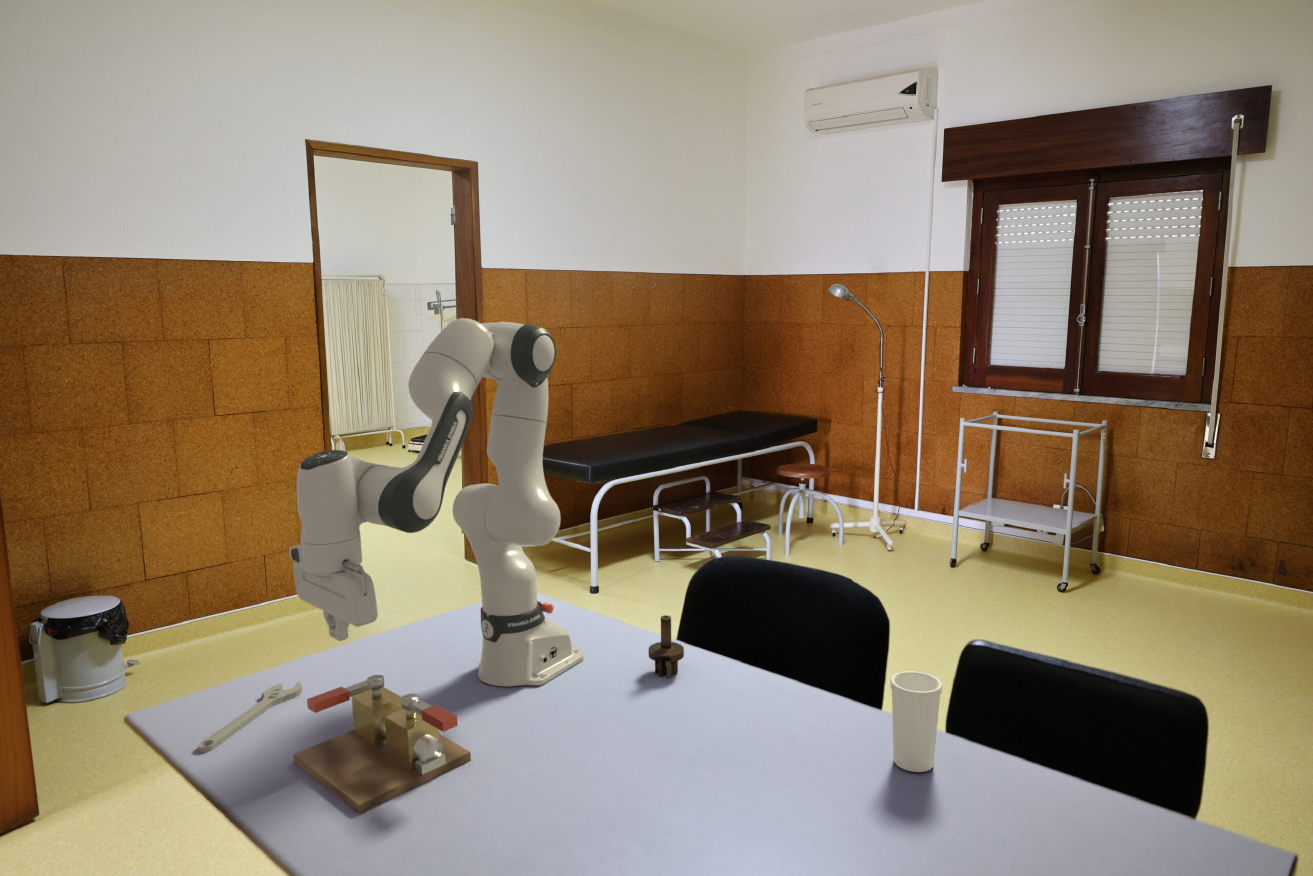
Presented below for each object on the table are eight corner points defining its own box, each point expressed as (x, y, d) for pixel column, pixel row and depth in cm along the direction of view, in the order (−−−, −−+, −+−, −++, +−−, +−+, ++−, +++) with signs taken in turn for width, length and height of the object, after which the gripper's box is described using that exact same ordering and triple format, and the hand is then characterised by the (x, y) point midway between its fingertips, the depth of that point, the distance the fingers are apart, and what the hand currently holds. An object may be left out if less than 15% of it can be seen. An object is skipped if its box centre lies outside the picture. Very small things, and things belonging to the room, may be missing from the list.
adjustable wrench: (208, 756, 147) (207, 747, 147) (179, 751, 149) (177, 742, 148) (308, 691, 170) (307, 683, 170) (281, 687, 172) (280, 679, 172)
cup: (939, 755, 142) (943, 674, 140) (939, 781, 134) (942, 696, 132) (889, 747, 145) (891, 668, 142) (885, 773, 137) (888, 689, 135)
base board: (400, 718, 158) (400, 711, 158) (470, 760, 143) (470, 752, 143) (294, 762, 143) (293, 754, 143) (360, 814, 129) (359, 805, 128)
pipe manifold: (379, 719, 155) (375, 664, 153) (468, 774, 136) (465, 712, 134) (350, 731, 150) (345, 675, 149) (438, 789, 132) (434, 726, 130)
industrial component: (678, 683, 170) (677, 625, 168) (644, 679, 172) (642, 622, 170) (690, 663, 179) (689, 609, 177) (657, 660, 181) (656, 606, 179)
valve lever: (379, 681, 150) (378, 672, 149) (387, 686, 148) (386, 677, 148) (307, 708, 140) (306, 699, 140) (315, 713, 138) (314, 704, 138)
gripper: (384, 562, 130) (391, 648, 132) (321, 538, 144) (327, 617, 146) (345, 572, 125) (352, 662, 128) (283, 547, 139) (291, 628, 141)
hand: (338, 637), depth 137 cm, fingers closed
